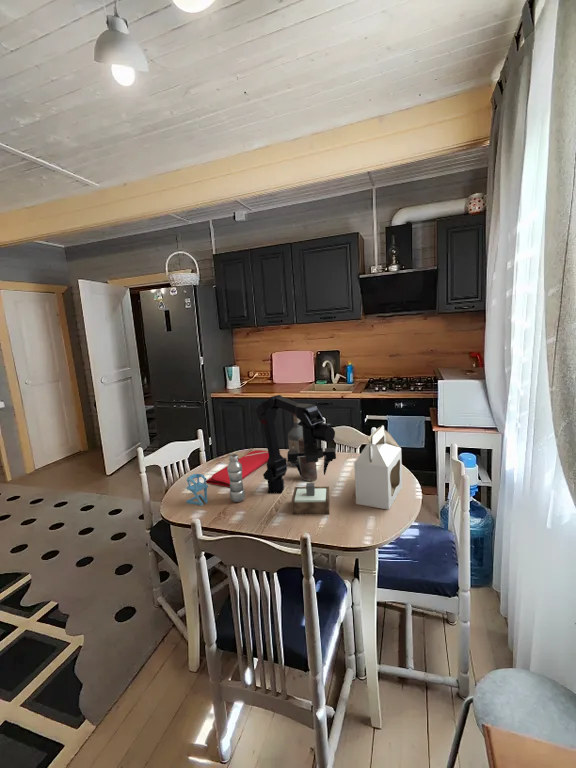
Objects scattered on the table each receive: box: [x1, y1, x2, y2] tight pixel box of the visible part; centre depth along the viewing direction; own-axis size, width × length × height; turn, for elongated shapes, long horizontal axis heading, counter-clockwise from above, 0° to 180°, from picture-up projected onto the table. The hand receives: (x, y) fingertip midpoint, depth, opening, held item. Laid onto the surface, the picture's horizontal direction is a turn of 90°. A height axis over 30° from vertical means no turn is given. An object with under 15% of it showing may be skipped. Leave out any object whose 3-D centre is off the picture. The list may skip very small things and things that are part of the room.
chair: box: [185, 473, 209, 507], centre depth 162 cm, size 8×8×12 cm
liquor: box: [287, 413, 303, 468], centre depth 194 cm, size 9×9×30 cm
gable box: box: [353, 424, 403, 510], centre depth 155 cm, size 22×13×28 cm, turn 151°
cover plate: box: [294, 482, 326, 502], centre depth 149 cm, size 12×10×5 cm
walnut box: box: [291, 485, 331, 515], centre depth 151 cm, size 14×11×6 cm
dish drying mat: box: [206, 449, 269, 488], centre depth 196 cm, size 16×41×4 cm, turn 151°
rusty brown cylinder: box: [298, 438, 318, 482], centre depth 177 cm, size 8×7×20 cm
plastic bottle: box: [226, 453, 246, 503], centre depth 160 cm, size 6×7×20 cm
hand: (312, 475), depth 150 cm, fingers open, 9 cm apart
